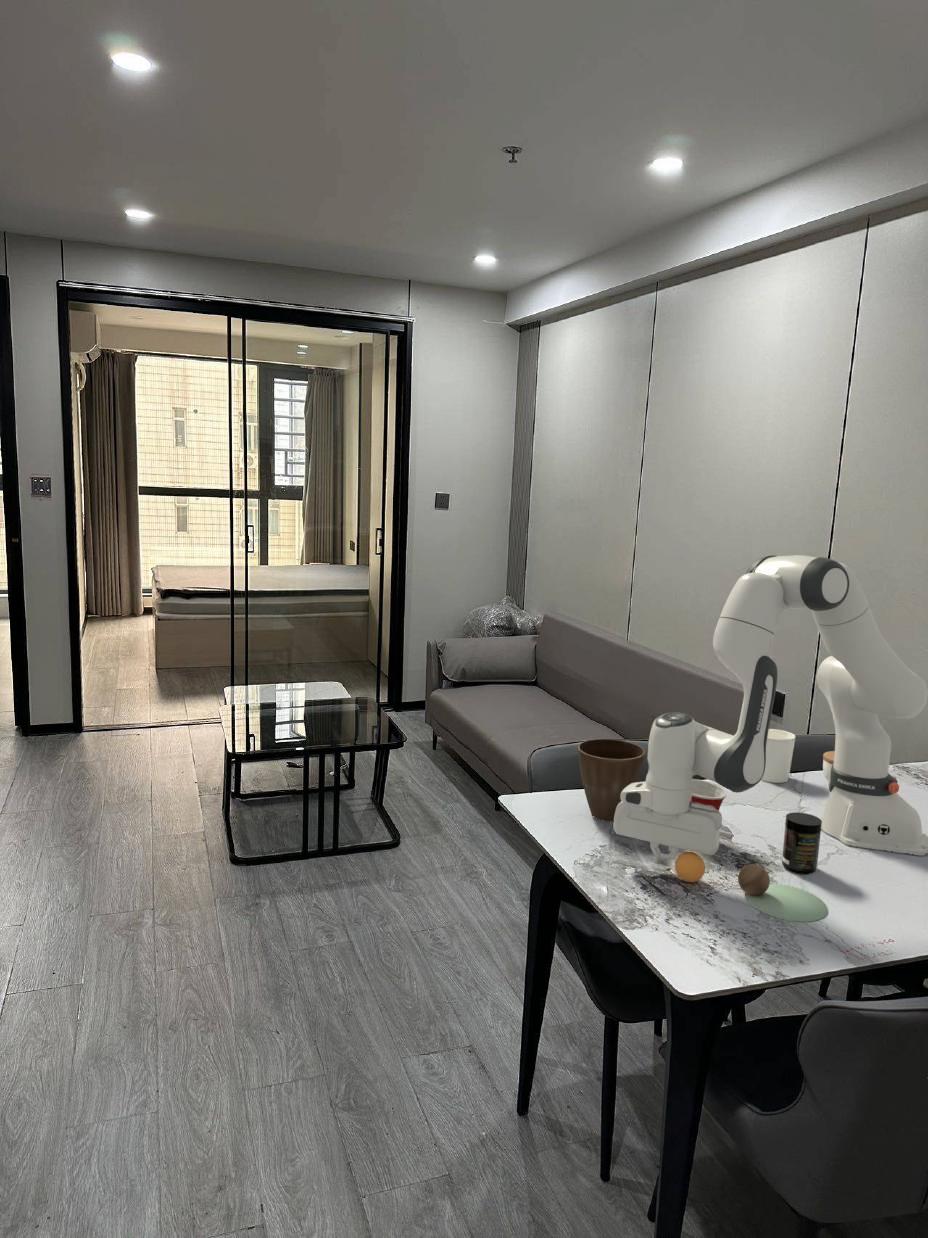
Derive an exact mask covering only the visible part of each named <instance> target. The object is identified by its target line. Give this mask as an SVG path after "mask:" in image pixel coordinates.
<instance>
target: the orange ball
mask: <svg viewBox="0 0 928 1238" xmlns="http://www.w3.org/2000/svg"><path fill="white" fill-rule="evenodd" d="M674 863H675V864H674V869H675V872H676V874H677V876H678V877H679V878H680V879H681V880H683V881H685V882H686V883H695V882H696V883H697V881H700V880H701V879H702V878H703V876H704V875H705V872H706V863H705V861H704V860H703V858H702V857H701V855H699V853H697V852H693V851H685V852H682V853H680V855H678V857H677V858H676V860H675V862H674Z"/></svg>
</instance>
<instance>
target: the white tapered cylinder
mask: <svg viewBox="0 0 928 1238" xmlns="http://www.w3.org/2000/svg"><path fill="white" fill-rule="evenodd" d="M795 741H796V735H795V734H794V733H792V732H789V731H786V730H783V729H777V728H775V729H774V728H769V731H768V737H767V743H766V765H765V772H764V775H763V777H762V779H761V780H760V781H763V782H767V783H773V784H774V783H775V784H782V783H786V782H788V781H789V777H790V773H791V771H790V770H791V767H792V759H793V752H794V748H795Z"/></svg>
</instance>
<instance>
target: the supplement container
mask: <svg viewBox="0 0 928 1238" xmlns="http://www.w3.org/2000/svg"><path fill="white" fill-rule="evenodd" d="M821 819H822V818H819V817H818V816H815V815H813V814H811V813H806V812H789V813H787V814H786V815H785V822H784V833H783V845H782V854H781V855H782V856H781V864H782V866H783V868H784V869H785V870H787V871H789V872H790V873H794V874H798V875H812V874H814V873H815V872H816V871H817V869H818V863H819V851H820V843H821V842H820V841H821V833H822V829H821V827H822V820H821Z"/></svg>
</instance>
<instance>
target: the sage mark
mask: <svg viewBox="0 0 928 1238" xmlns="http://www.w3.org/2000/svg"><path fill="white" fill-rule="evenodd" d="M745 898H746V900H747V902H748V903H749V904H750V906H752V907H753V908H754V909H756V910H758V912H761V913H763V914H765V915H768V916H770V917H773V918H776V919H778V920H779V919H780V920H784V921H789V922H799V923H804V922H805V923H806V922H807V923H808V922H815V921H818V920H821V919H823V918H825V917H826V915H828V906H827V905H826V902H824V901H823V899H821V898H819V897H818V896H816V895H815V894H813V893H812V892H809V891H807V890H804V889H802V888H798V887H794V886H790V885H786V884H781V883H780V884H779V883H777V884H776V883H770V884H769V887H768V889H767V891H766V892H765V893H763V894H761V895H757V896H753V895H749V894H747V893H746V892H745Z"/></svg>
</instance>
